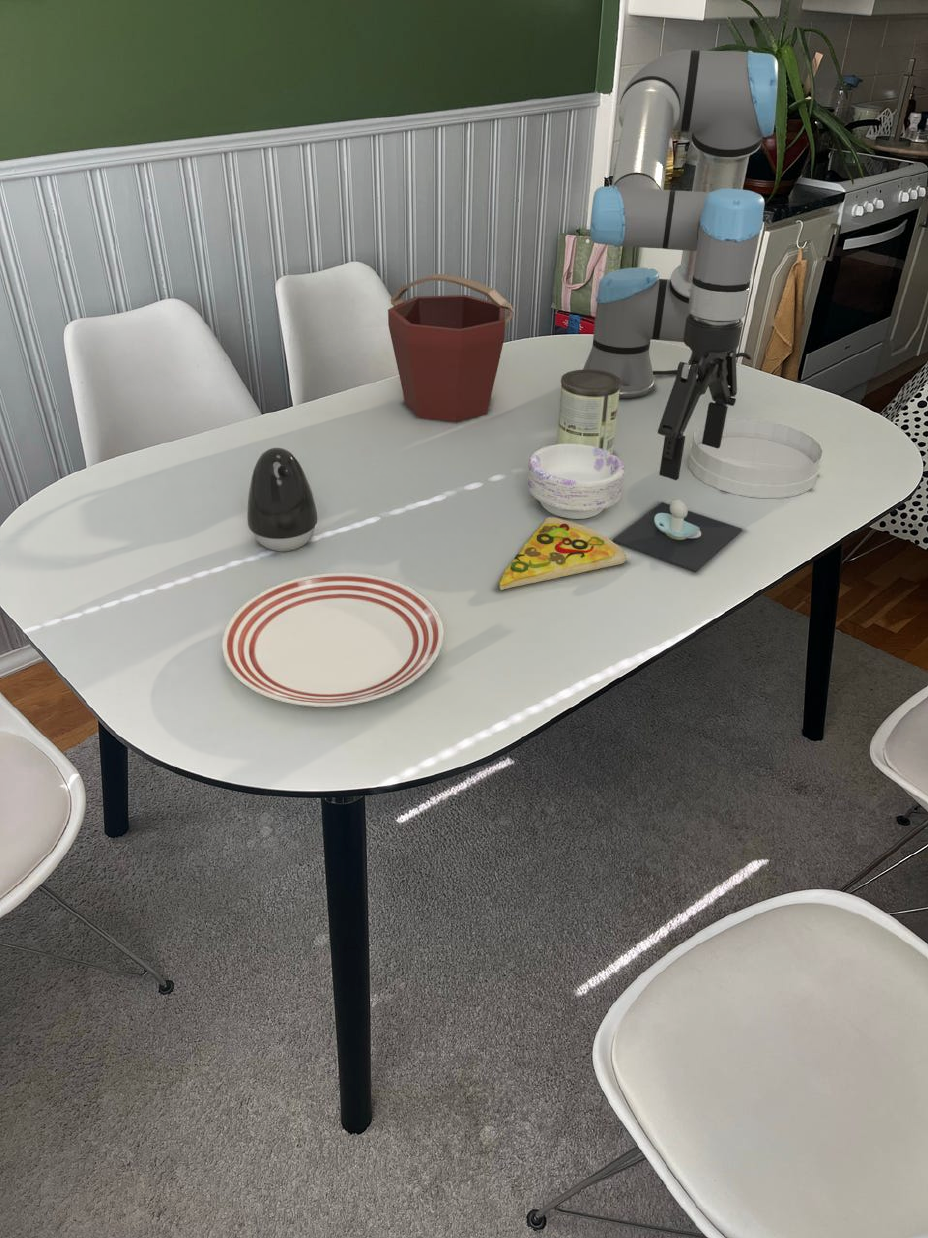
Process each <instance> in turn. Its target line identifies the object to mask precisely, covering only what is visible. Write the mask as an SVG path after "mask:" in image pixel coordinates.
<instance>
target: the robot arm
mask: <svg viewBox="0 0 928 1238" xmlns="http://www.w3.org/2000/svg"><path fill="white" fill-rule="evenodd" d="M778 82H779V62H778V60H777V58H776V57H775V55H774V54H771V53H762V52H754V51H752V50H748V51H726V50H725V51H723V50H721V51H720V50H694V49H693V50H692V49H679V50H674V51H670V52H667V53H665V54H662V55H660V56H658V57H656V58H654V59H652V60H651V61H650V62H648V63H646V64H645V65H644V66H643V67H642V68H641V69H639V71H637V72H636V73H635V75H634V76H633V77H631V79H630V80H629V82H628V83H627V84H626V86H625V88H624V90H623V92H622V94H621V97H620V102H619V106H618V122H619V124H620V127H621V130H620V131H621V132H620V136H619V142H618V147H617V153H616V158H615V163H614V169H613V174H612V180H611V185H609V186H600V187H598V188H596V189H595V191H594V193H593V198H592V206H591V214H590V223H589V237H590V239H591V241H592V243H595V244H598V245H605V246H612V247H615V248H620V247H623V248H624V247H626V248H641V249H643V248H644V249H645V248H646V249H661V250H662V249H664V250H673V251H682V254H681V260H680V264H679V265H678V266H677V267H675V268H674V269H673V271H672V272H671V274H670V278H668V279H666V278H661V276H660V272H659V271H658V270H657V269H654V268H648V267H642V266H641V267H640V266H639V267H627V268H620V269H616V270H613V271H610V272H608V273H606V274H604V275H603V276H602V277H601V278H600V280H599V283H598V289H597V296H596V297H595V302H596V306H595V307H596V309H595V318H594V327H593V335H592V336H593V337H592V347H591V349H590V352H589V354H588V356H587V358H586V361H585V364H584V366H583V368H582V370H584V369H589V370H600V371H605V372H608V373H611V374H614V375H616V376H617V377H619V378H620V380H621V387H620V391H619V399H635V398H640V397H643V396H646V395H649V394H651V392H652V391H653V390H654V383H655V378H654V377H655V376H667V375H669V376H670V375H675V379H674V382H673V385H672V388H671V391H670V394H669V396H668V400H667V402H666V406H665V408H664V411H663V414H662V417H661V419H660V423H659V426H658V429H657V434H658V435H660V436H664V440H663V441H664V442H663V447H662V452H661V453H662V454H661V460H660V467H659V473H658V474H659V476H661V477H664V478H668V479H671V480H673V481H678V480H679V479H680V472H681V467H682V460H683V455H684V450H685V449H684V448H685V443H686V435H684V433H685V431H686V428H687V426H688V424H689V422H690V420H691V417H692V416H693V413H694V411H695V409H696V406H697V404H698V402H699V400H700V397H701V396H702V395H705V394H706V392H707V390H708V389H709V392H710V397H711V400H712V401H710V402H709V403H708V406H707V411H706V417H705V422H704V424H705V428H704V434H703V439H702V444H704V445H707V446H711V447H714V448H717V449H718V448H720V446H721V440H722V435H723V430H724V424H725V419H727V414H728V407H729V406H730V407H734V406H735V405H736V401H737V398H735V397H736V396H737V394H738V384H737V383H738V379H737V378H738V377H737V358H740V357H742V358H745V359H746V360H749V361H750V360H752V357H751V355H750V354H748V353H746V352H737V349H738V347H739V345H740V342H741V336H742V330H743V325H744V323H743V321H742V319H743V318H744V317H745V316H746V312H747V307H748V299H749V295H750V289H751V278H752V274H753V268H754V264H755V260H756V255H757V250H758V244H759V239H760V235H761V231H762V229H763V225H764V221H763V220H764V211H765V204H766V203H765V198H764V197H763V196H762V195H761V194H759V193H757V192H755V191H752V190H748V189H744V185H745V184H744V183H745V179H746V174H747V170H748V165H749V159H750V156H751V155H753V154H754V153H756V152H757V151H758V150H759V149H760V148H761V146H762V143H763V138H767V137H770V136H773V134H774V130H775V124H776V123H775V122H776V113H777V99H778ZM672 132H682V133H691V136H690V141H691V145H692V147H693V148H694V149H695V150H696V151H697V158H696V165H695V171H694V177H693V183H692V190H691V191H690V190H688V191H687V190H674V189H664V188H665V182H666V181H665V180H666V173H667V165H668V157H669V148H670V142H671V141H670V139H671V133H672ZM653 340H654V341H664V342H675V343H684V345H686V347H688V348H689V349H690V350H691V354H690V358H689V360H688V362H684V361H680V362H679V363H678V365H677V369H670V370H669V369H668V370H653V366H652V361H651V356H650V347H651V341H653Z"/></svg>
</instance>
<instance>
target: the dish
mask: <svg viewBox="0 0 928 1238" xmlns="http://www.w3.org/2000/svg"><path fill="white" fill-rule="evenodd" d="M704 428H705V423H704V424H703V425H701V426H700V427H698V428H697V429H696V430H695V432H694V434H693V437H692V443H691V446H690V449H689V455H688V460H687V462H688V469H689V470H690V472H691V473H692V474H693V476H695V478H697V479H699V480H700V481H701V482H702V483H704V484H706V485H708V486H710V487H712V488H714V489H717V490H720V491H723V492H726V493H728V494H732V495H738V496H742V497H747V498H758V499H785V498H790V497H795V496H800V495H802V494H804V493H806V492H808V491H810V490H811V489H813V487H814V486H815V485H816V483H817V478H818V474H819V472H820V468H821V467H820V461H821V458H822V455H823V449H822V447H821V444H820V443H819V442H818V441H816V440H815V438H813V436H810V435H809V434H807V433H805V432H804V431H801V430H799V429H796V428H794V427H792V426H788V425H785V424H781V423H778V422H775V421H767V420H762V419H751V418H726V419H725V424H724V430H723V435H722V440H721V446H720V448H718V449H717V448H714V447H711V446H707V445H704V444H702V439H703V434H704Z"/></svg>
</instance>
